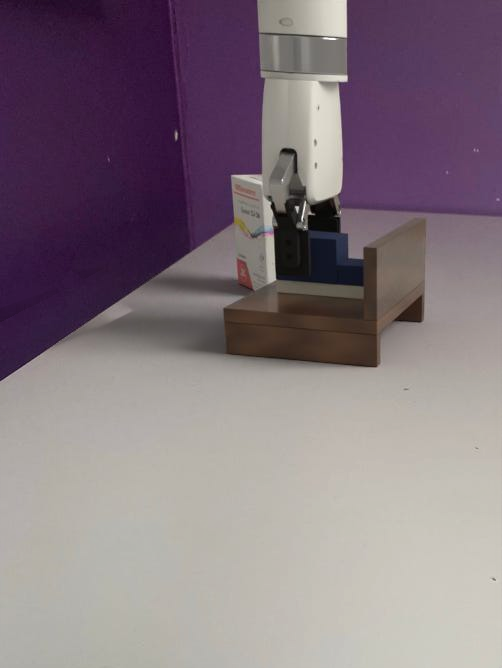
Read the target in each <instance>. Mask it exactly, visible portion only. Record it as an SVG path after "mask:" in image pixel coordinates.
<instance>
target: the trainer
mask: <svg viewBox="0 0 502 668" xmlns="http://www.w3.org/2000/svg"><path fill="white" fill-rule="evenodd" d="M310 252H311V275H310V276H308V277H306V278H305V277H293V276H281V275H278V274H277V273H276V280H277V292H279V293H292V294H304V295H316V296H328V297H340V298H352V299H364V275H363V258H352V257H349V233H347V232H341V233H335V232H322V231H310ZM275 272H276V271H275Z"/></svg>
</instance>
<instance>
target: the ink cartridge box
mask: <svg viewBox="0 0 502 668" xmlns="http://www.w3.org/2000/svg"><path fill="white" fill-rule="evenodd" d="M230 180H231V181H230V182H231V193H232V195H231V196H232V206H233V221H234V223H233V224H234V236H235V237H234V238H235V239H234V240H235V252H236V253H235V255H236V268H237V281H238V282H237V283H238V284H239V285H240V284H241V285H242V286H245V287H246V288H248V289H250V290H252V291H253V292H255V291H256V290H258V289H260V288H262V287H264V286H266V285H268V284H270V283H271V282H273V281H275V280H276V272H275V252H274V229H273V226H272V217H273V212H272V209H271V207H270V204H271V202H269V201H268V200H267V199H266V198H265V197H264V195H263V189H262V173H261V174H260V173H259V174H231V175H230ZM295 208H296V211H297V213H298V210H299V207H298V206H295Z"/></svg>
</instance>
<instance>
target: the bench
mask: <svg viewBox="0 0 502 668" xmlns="http://www.w3.org/2000/svg"><path fill="white" fill-rule="evenodd" d="M426 240H427V218H426V217H414V218H412V219H410V220H409V221H407V222H404V223H403V224H401V225H400V226H398V227H396V228H394V229H393V230H390V231H389V232H387V233H386V234H383V235H382V236H381V237H379V238H377V239H374V240H373V241H371V242H370V243H368V244H367V245H365V246H363V249H362V251H363V252H362V254H363V255H362V259H363V275H364V299H352V298H340V297H328V296H316V295H304V294H292V293H279V292H277V280H275V281H273V282H271V283H270V284H268V285H266V286H264V287H262V288H260V289H258V290H256V291H253V292H251V293H248V294H247V295H245V296H243V297H242V298H239V299H238V300H236V301H233V302H232V303H230V304H228V305H227V306H224V307H223V308H222V310H223V311H222V312H223V322H224V323H223V325H224V337H225V350H226V351H225V353H226V354H229V355H239V356H240V355H241V356H252V357H263V358H273V359H274V358H275V359H284V360H285V359H286V360H295V361H306V362H307V361H308V362H318V363H329V364H339V365H340V364H341V365H349V366H350V365H352V366H360V367H361V366H362V367H373V368H377V367H378V366H379V365H380V364H381V332H382V331H383V330H384V329H385V328H386V327H388V326H389V325H390V324H391V323H392V322H393V321H406V322H417V323H422V322H423V321H424V320H425V301H426V300H425V298H426V297H425V295H426V294H425V292H426V252H427V251H426V244H427V241H426Z"/></svg>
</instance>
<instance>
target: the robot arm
mask: <svg viewBox="0 0 502 668" xmlns="http://www.w3.org/2000/svg"><path fill="white" fill-rule="evenodd" d="M256 2H257V4H256V5H257V23H258V33H259V34H258V44H259V45H258V48H259V68H260V78H261V79H264V87H263V95H262V113H261V174H262V189H263V195H264V197H265V198H266V199H267V200H268V201H269V202H271V204H270V207H271V209H272V212H273V217H272V226H273V229H274V252H275V271H276V273H277V274H278V275H281V276H293V277H305V278H306V277H308V276H310V275H311V252H310V231H322V232H335V233H342V229H341V228H342V227H341V226H342V225H341V224H342V223H341V221H342V220H341V218H342V217H341V213H342V206H341V202H340V198H339V197H340V195H341V191H342V188H343V176H344V175H343V174H344V173H343V171H344V170H343V169H344V158H343V157H344V156H343V155H344V154H343V130H342V128H343V127H342V112H341V106H342V105H341V99H340V86H339V83H348V78H349V77H348V0H256ZM295 206H298V207H299V210H298V213H297V211H296V208H295ZM306 228H307V229H306Z"/></svg>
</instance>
